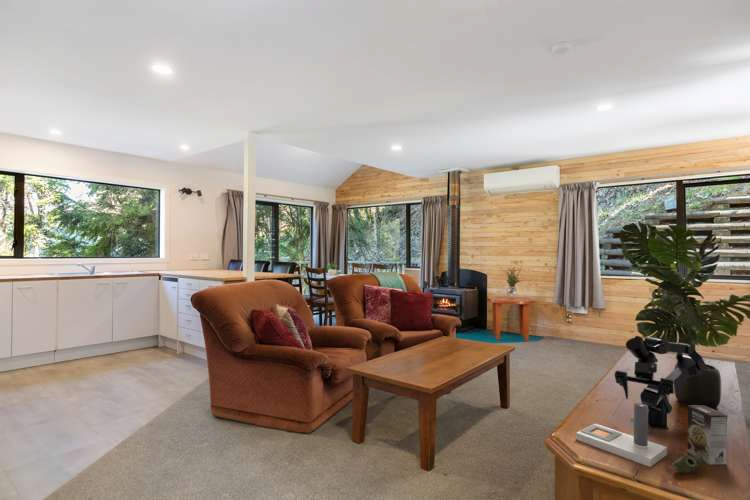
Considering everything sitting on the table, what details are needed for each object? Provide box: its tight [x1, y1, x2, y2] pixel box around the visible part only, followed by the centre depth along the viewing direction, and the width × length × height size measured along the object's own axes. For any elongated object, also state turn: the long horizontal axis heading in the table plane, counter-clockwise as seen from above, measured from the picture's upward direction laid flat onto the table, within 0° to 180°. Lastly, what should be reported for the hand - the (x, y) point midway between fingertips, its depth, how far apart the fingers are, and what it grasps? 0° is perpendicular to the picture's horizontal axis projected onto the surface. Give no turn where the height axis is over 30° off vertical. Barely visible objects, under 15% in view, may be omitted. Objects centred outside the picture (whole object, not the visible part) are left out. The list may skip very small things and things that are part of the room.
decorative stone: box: [671, 455, 704, 474], centre depth 132 cm, size 11×8×5 cm
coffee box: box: [686, 404, 728, 466], centre depth 141 cm, size 9×6×16 cm
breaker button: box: [592, 429, 611, 437], centre depth 154 cm, size 5×5×2 cm
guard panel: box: [575, 423, 668, 468], centre depth 148 cm, size 24×14×3 cm, turn 37°
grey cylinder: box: [633, 402, 649, 449], centre depth 143 cm, size 4×4×14 cm
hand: (641, 401), depth 155 cm, fingers open, 9 cm apart
